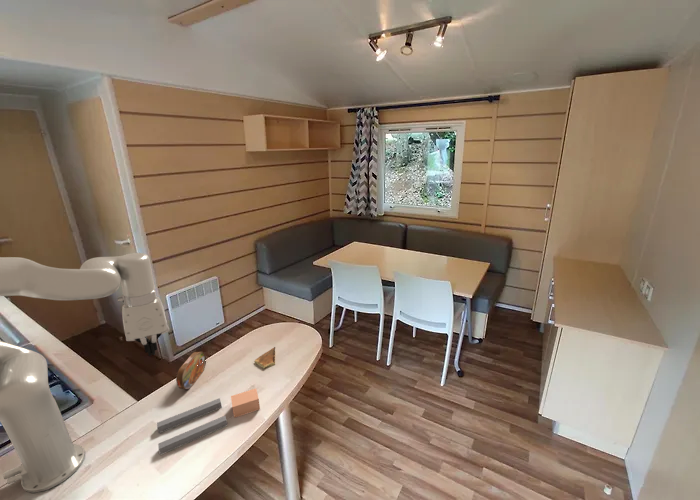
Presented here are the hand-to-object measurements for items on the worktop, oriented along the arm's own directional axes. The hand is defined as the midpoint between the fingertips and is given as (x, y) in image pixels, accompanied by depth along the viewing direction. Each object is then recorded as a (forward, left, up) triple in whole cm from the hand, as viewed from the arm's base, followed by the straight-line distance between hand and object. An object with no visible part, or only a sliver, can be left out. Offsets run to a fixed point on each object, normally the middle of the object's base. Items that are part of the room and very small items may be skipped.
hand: (152, 352), depth 94 cm
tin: (+9, +12, -23) cm, 28 cm away
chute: (+6, -10, -23) cm, 26 cm away
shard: (+35, +9, -24) cm, 43 cm away
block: (+22, -11, -23) cm, 34 cm away
